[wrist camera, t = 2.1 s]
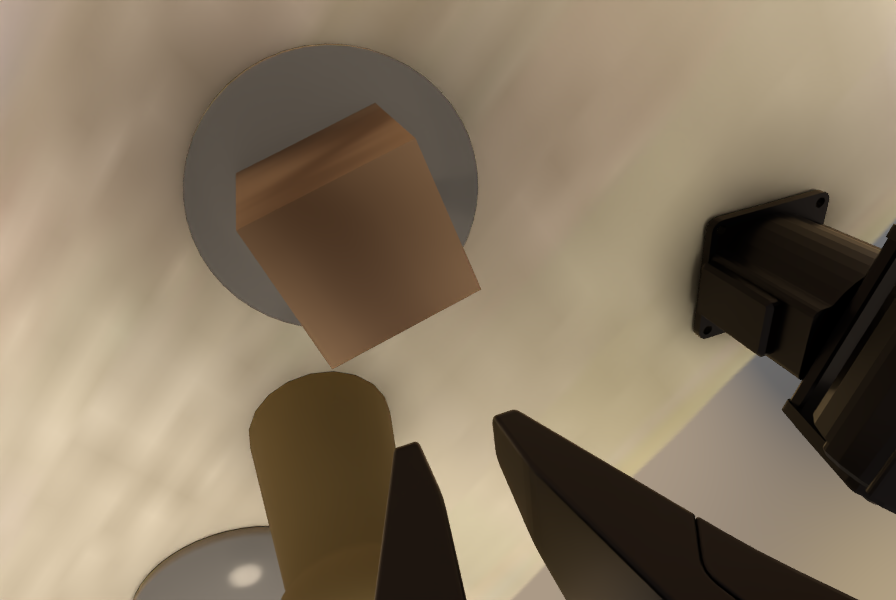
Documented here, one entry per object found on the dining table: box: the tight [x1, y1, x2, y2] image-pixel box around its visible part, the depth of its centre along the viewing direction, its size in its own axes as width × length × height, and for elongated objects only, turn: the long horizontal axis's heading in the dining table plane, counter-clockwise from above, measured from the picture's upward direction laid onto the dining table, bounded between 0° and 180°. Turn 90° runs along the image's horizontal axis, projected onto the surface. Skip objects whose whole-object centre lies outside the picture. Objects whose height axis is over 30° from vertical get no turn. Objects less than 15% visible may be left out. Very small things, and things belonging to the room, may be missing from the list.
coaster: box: [183, 44, 478, 326], centre depth 20 cm, size 10×10×1 cm
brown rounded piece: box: [249, 372, 396, 600], centre depth 20 cm, size 6×6×11 cm
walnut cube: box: [236, 103, 481, 369], centre depth 18 cm, size 5×5×5 cm
